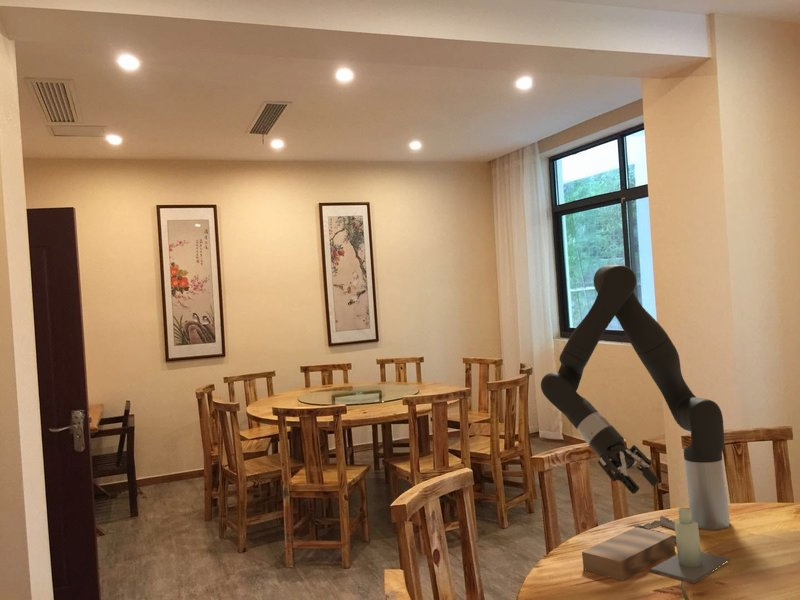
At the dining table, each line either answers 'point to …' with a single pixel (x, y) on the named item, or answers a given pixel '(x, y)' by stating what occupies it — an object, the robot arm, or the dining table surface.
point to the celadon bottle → (687, 539)
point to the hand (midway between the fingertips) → (646, 487)
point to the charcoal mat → (689, 573)
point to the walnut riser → (628, 553)
